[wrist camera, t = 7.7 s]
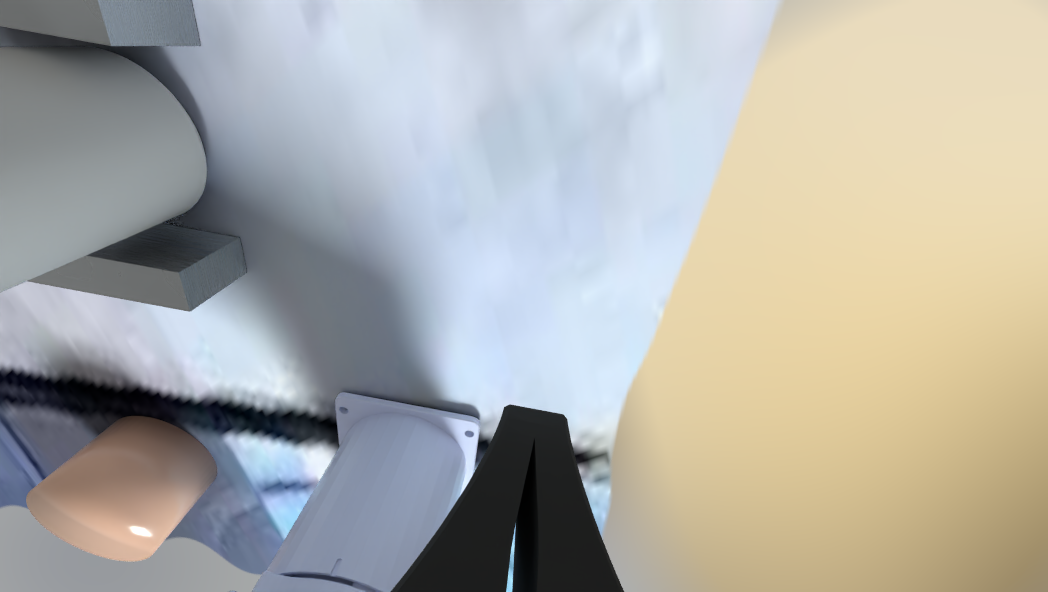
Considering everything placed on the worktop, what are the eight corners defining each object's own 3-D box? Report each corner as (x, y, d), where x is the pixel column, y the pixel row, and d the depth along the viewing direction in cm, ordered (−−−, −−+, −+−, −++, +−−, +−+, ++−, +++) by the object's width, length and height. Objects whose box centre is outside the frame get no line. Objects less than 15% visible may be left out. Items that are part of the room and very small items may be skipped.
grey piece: (246, 272, 20) (190, 311, 17) (22, 230, 21) (-73, 262, 18) (188, -15, 15) (88, -30, 12) (-122, -69, 15) (-299, -98, 12)
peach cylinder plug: (226, 496, 30) (169, 570, 26) (129, 477, 30) (55, 548, 26) (205, 427, 27) (134, 500, 22) (95, 405, 27) (3, 474, 23)
